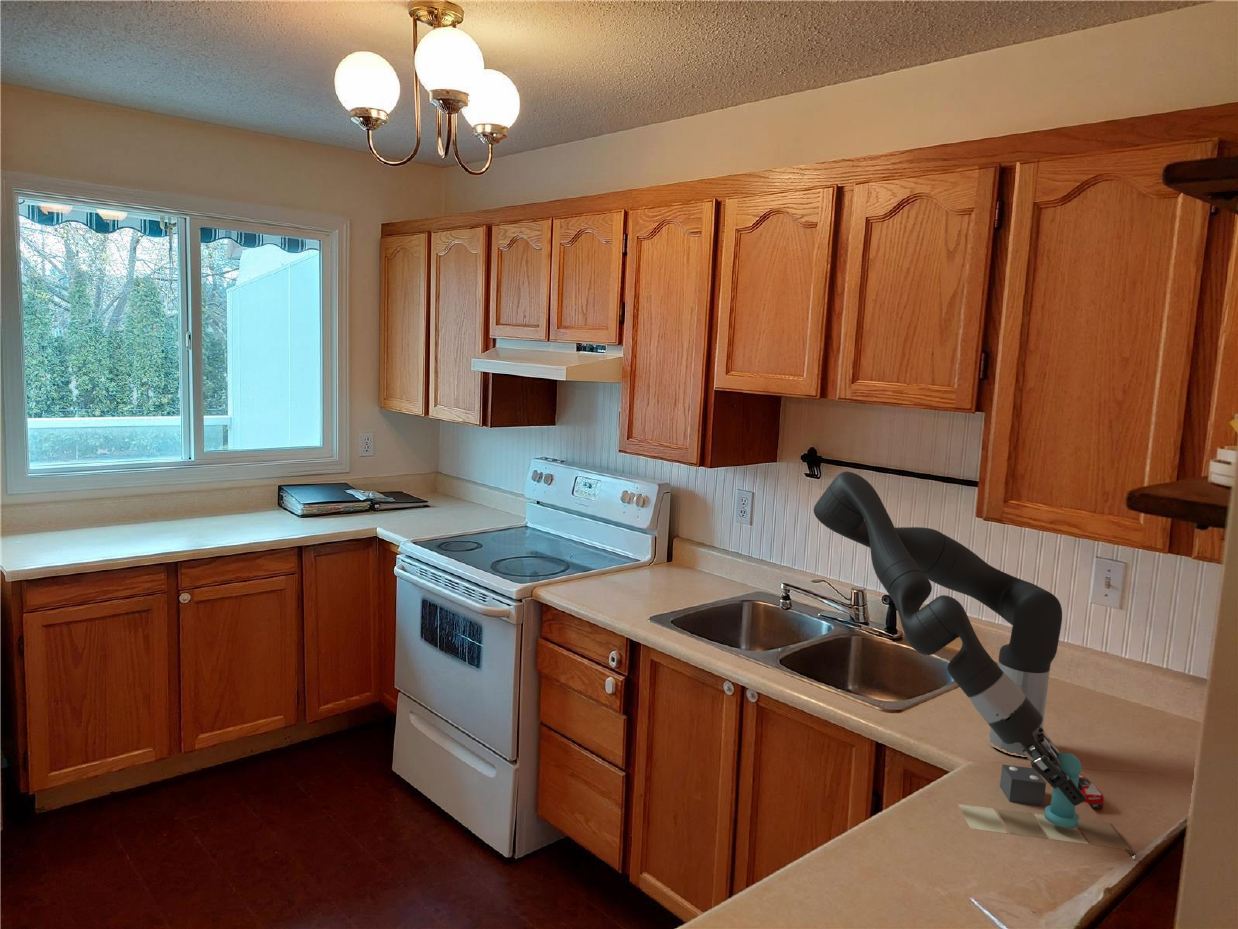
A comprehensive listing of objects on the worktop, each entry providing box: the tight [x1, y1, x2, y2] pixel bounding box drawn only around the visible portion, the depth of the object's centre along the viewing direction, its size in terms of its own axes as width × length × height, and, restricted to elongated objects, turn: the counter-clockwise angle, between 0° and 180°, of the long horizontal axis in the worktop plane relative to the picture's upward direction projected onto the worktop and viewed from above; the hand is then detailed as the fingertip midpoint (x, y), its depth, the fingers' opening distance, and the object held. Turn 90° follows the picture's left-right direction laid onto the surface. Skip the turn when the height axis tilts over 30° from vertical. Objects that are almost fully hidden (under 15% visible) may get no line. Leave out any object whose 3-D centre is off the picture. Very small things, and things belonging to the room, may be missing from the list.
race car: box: [1053, 773, 1105, 809], centre depth 152 cm, size 13×5×4 cm, turn 7°
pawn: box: [1043, 752, 1083, 828], centre depth 136 cm, size 5×5×11 cm
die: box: [999, 763, 1047, 807], centre depth 146 cm, size 6×6×6 cm
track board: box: [958, 803, 1137, 858], centre depth 137 cm, size 9×25×2 cm, turn 81°
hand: (1078, 796), depth 135 cm, fingers closed on pawn, 3 cm apart
